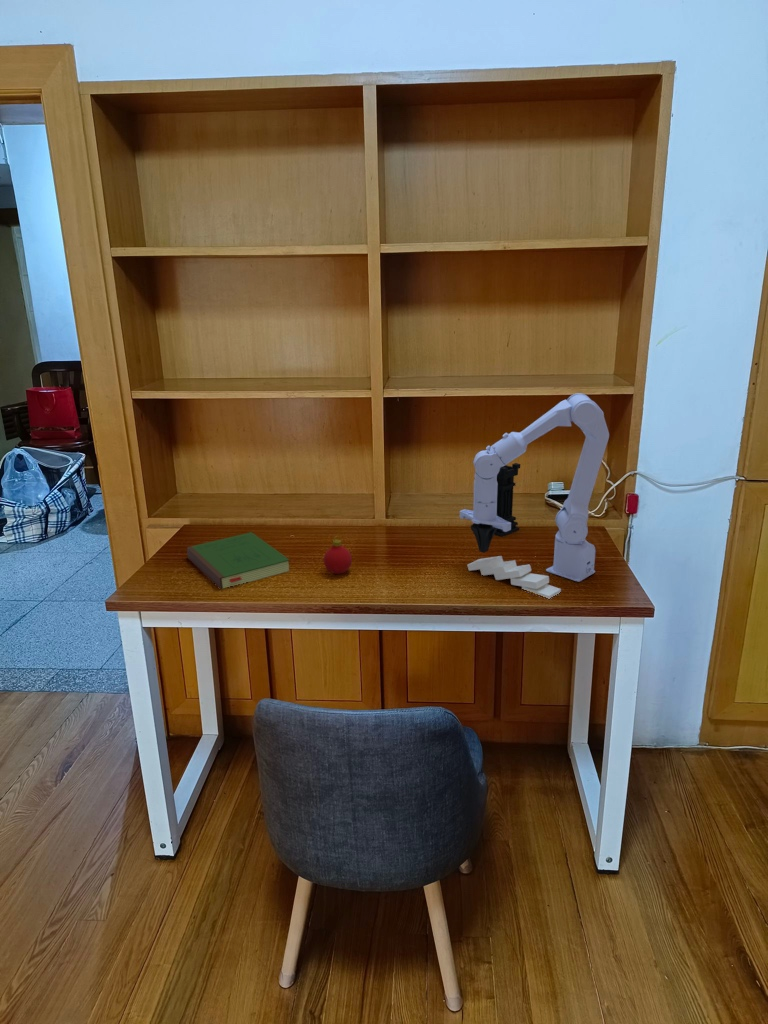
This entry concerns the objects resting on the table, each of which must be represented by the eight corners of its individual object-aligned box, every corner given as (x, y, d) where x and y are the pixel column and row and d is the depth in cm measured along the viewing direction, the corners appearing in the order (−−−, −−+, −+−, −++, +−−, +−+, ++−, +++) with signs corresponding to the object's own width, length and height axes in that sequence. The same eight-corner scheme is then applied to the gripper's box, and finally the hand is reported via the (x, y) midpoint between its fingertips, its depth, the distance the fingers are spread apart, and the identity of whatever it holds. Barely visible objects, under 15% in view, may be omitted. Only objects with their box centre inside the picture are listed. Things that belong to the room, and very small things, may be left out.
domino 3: (507, 574, 171) (531, 570, 166) (495, 580, 168) (520, 576, 162) (505, 567, 171) (529, 564, 166) (493, 574, 168) (518, 570, 162)
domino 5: (533, 585, 166) (560, 595, 161) (521, 592, 163) (548, 602, 158) (534, 579, 166) (561, 589, 160) (522, 586, 162) (549, 596, 157)
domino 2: (493, 569, 174) (516, 566, 168) (481, 575, 171) (504, 572, 165) (492, 563, 174) (515, 560, 168) (479, 569, 171) (503, 566, 165)
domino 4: (524, 578, 168) (549, 582, 162) (511, 584, 165) (536, 588, 159) (523, 572, 167) (548, 576, 162) (510, 578, 164) (535, 582, 159)
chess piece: (480, 529, 200) (482, 464, 194) (497, 523, 205) (500, 458, 199) (501, 537, 195) (504, 469, 188) (519, 529, 200) (522, 464, 193)
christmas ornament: (346, 564, 179) (344, 529, 175) (356, 575, 173) (355, 538, 169) (320, 570, 176) (318, 534, 173) (330, 580, 170) (328, 543, 167)
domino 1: (481, 564, 177) (503, 561, 171) (468, 570, 174) (491, 567, 168) (479, 559, 177) (501, 555, 171) (467, 564, 173) (489, 561, 168)
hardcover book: (188, 560, 185) (186, 547, 184) (252, 544, 195) (251, 532, 194) (222, 593, 166) (220, 579, 164) (291, 573, 175) (290, 560, 174)
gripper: (451, 497, 169) (451, 547, 174) (499, 510, 160) (497, 563, 164) (470, 490, 174) (468, 540, 179) (517, 503, 164) (514, 555, 169)
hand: (483, 550), depth 172 cm, fingers closed
